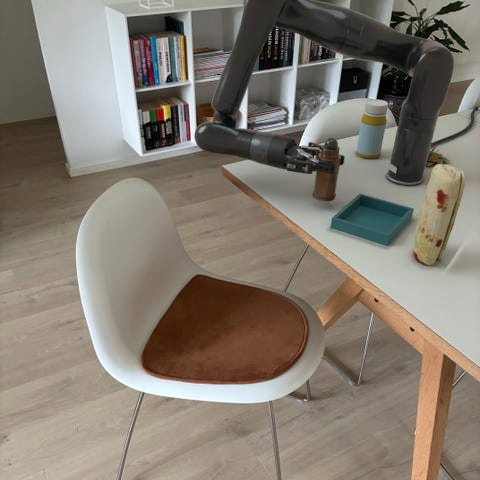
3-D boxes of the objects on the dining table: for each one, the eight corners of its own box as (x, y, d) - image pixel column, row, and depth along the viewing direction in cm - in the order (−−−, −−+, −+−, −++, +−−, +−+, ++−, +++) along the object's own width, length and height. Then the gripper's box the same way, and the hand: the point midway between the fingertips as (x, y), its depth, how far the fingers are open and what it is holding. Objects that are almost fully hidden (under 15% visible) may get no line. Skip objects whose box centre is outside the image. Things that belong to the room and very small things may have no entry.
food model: (404, 245, 114) (427, 157, 102) (435, 247, 114) (461, 158, 101) (412, 270, 107) (437, 177, 94) (445, 272, 106) (474, 179, 94)
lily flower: (458, 164, 151) (463, 148, 148) (427, 171, 147) (431, 155, 144) (428, 150, 159) (432, 135, 156) (398, 156, 155) (402, 141, 152)
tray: (357, 204, 130) (360, 193, 128) (411, 220, 124) (414, 208, 122) (329, 230, 119) (331, 217, 117) (386, 248, 114) (389, 235, 112)
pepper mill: (318, 189, 129) (326, 131, 120) (339, 195, 126) (348, 137, 117) (308, 197, 125) (315, 138, 116) (329, 203, 123) (337, 144, 114)
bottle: (379, 160, 152) (390, 107, 143) (355, 158, 153) (364, 105, 144) (379, 151, 157) (389, 99, 148) (356, 149, 158) (364, 98, 149)
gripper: (260, 143, 118) (330, 159, 112) (286, 125, 128) (352, 139, 122) (258, 175, 123) (326, 192, 117) (283, 155, 133) (347, 169, 127)
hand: (339, 164), depth 120 cm, fingers closed on pepper mill, 5 cm apart
